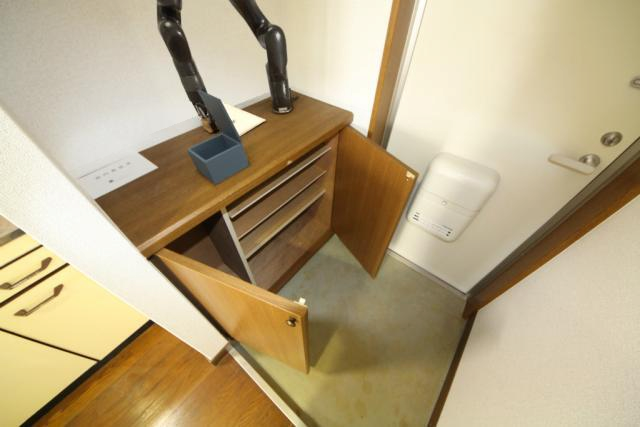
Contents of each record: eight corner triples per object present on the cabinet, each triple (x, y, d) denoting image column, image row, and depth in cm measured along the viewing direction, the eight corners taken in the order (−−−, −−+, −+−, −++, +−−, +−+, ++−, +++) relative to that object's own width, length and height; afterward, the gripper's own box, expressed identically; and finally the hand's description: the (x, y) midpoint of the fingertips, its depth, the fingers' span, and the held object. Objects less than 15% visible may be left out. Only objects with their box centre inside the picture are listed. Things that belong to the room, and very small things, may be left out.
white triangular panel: (255, 103, 103) (214, 103, 90) (263, 102, 99) (221, 101, 86) (262, 137, 109) (224, 142, 95) (269, 136, 105) (231, 141, 91)
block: (214, 125, 100) (210, 115, 97) (219, 128, 98) (215, 118, 94) (204, 129, 98) (200, 119, 94) (210, 133, 96) (206, 122, 92)
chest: (215, 184, 74) (204, 162, 67) (197, 170, 79) (186, 149, 73) (249, 165, 81) (242, 143, 74) (230, 153, 86) (222, 132, 79)
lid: (218, 100, 61) (220, 99, 62) (197, 90, 67) (199, 89, 67) (240, 143, 73) (242, 141, 74) (221, 131, 79) (223, 130, 79)
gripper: (213, 88, 83) (228, 130, 96) (194, 80, 90) (211, 120, 103) (194, 94, 80) (213, 137, 93) (176, 85, 86) (196, 127, 99)
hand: (211, 128), depth 98 cm, fingers closed on block, 4 cm apart
